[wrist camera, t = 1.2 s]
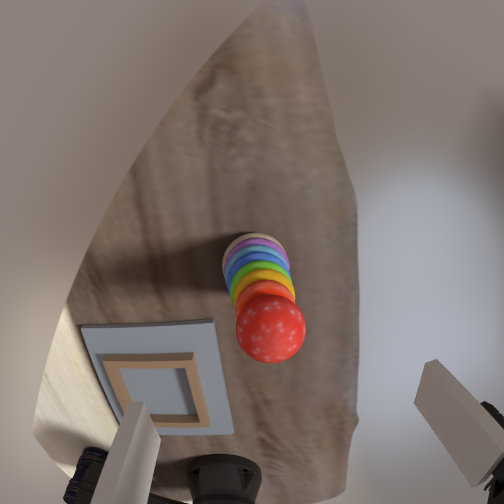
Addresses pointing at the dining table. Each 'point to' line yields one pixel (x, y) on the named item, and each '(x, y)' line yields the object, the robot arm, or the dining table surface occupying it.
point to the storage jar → (83, 470)
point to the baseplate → (164, 373)
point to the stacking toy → (263, 298)
